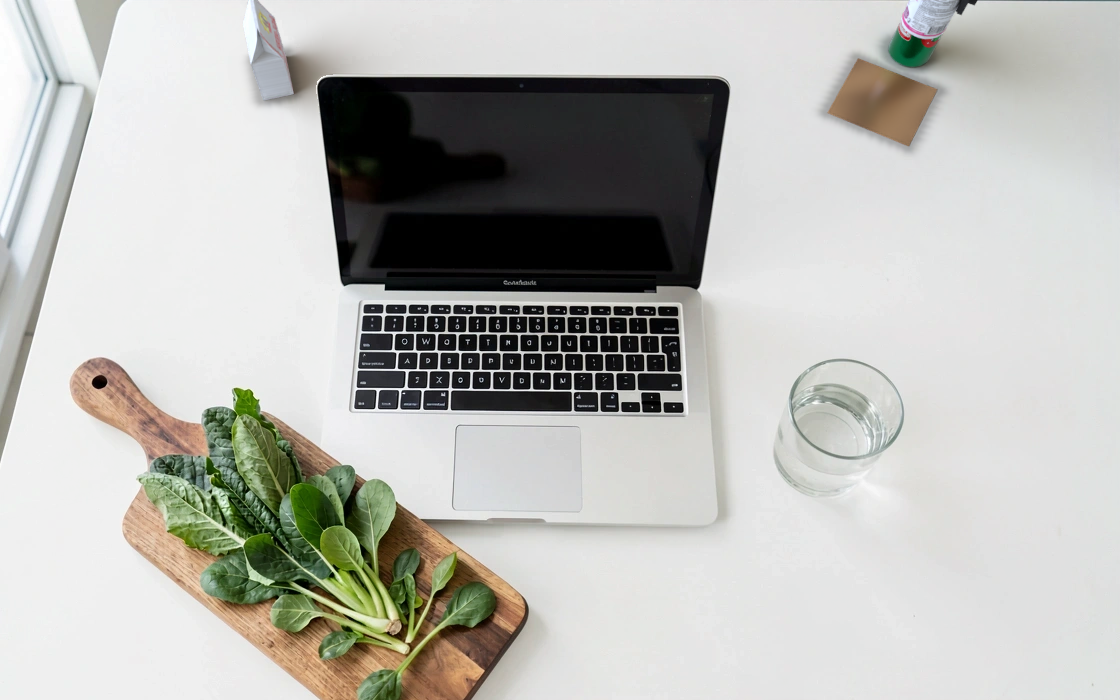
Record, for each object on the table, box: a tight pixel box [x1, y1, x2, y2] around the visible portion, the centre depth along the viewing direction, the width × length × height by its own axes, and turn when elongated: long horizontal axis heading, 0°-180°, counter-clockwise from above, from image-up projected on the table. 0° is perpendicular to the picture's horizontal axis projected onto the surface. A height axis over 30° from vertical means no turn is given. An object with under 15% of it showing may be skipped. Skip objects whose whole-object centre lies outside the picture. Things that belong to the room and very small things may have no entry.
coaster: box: [826, 58, 938, 147], centre depth 107 cm, size 10×10×1 cm
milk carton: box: [242, 0, 295, 101], centre depth 105 cm, size 4×7×10 cm, turn 15°
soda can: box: [887, 20, 944, 68], centre depth 105 cm, size 5×5×12 cm
